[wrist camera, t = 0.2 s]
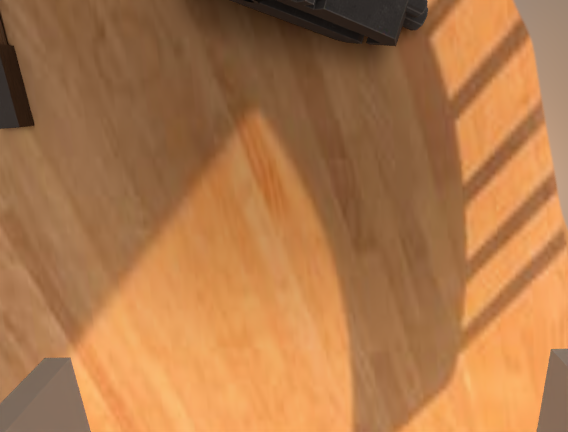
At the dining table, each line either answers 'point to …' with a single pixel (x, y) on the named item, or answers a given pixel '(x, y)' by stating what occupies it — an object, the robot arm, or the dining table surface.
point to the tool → (348, 17)
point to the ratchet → (12, 89)
